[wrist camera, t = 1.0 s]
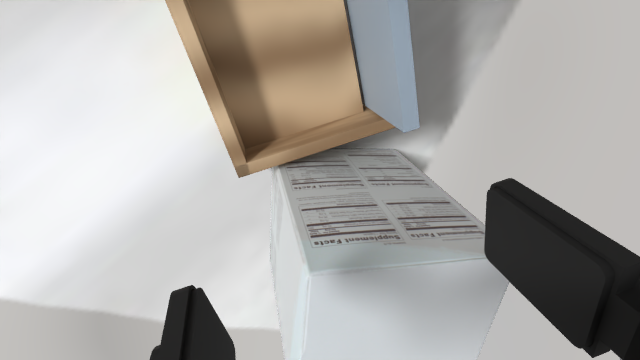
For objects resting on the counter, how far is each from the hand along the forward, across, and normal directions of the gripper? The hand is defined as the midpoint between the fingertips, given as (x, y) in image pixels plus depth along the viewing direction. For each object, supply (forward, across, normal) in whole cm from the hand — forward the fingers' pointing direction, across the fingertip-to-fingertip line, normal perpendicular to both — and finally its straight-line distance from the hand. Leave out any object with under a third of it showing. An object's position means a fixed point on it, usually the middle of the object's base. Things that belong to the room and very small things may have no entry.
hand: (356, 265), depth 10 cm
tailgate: (+21, -8, -4) cm, 23 cm away
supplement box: (+22, -2, +13) cm, 25 cm away
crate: (+22, -2, -4) cm, 22 cm away
